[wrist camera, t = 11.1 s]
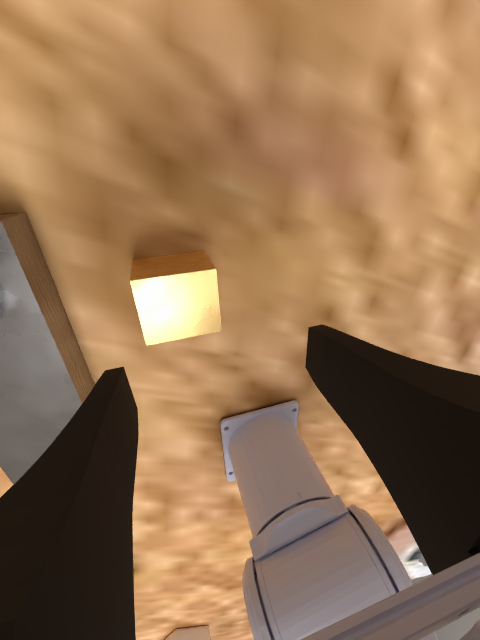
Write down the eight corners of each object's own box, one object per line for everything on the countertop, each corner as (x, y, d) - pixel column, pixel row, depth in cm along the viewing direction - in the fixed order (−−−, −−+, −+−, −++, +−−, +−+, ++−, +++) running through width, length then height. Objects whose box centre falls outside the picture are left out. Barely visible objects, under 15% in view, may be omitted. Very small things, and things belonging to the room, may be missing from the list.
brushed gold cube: (209, 304, 21) (221, 331, 17) (146, 314, 20) (146, 345, 16) (203, 250, 19) (216, 269, 15) (132, 259, 18) (130, 280, 14)
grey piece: (114, 437, 24) (108, 495, 19) (35, 457, 22) (9, 524, 18) (25, 212, 15) (-22, 230, 11) (-116, 223, 13) (-234, 248, 9)
